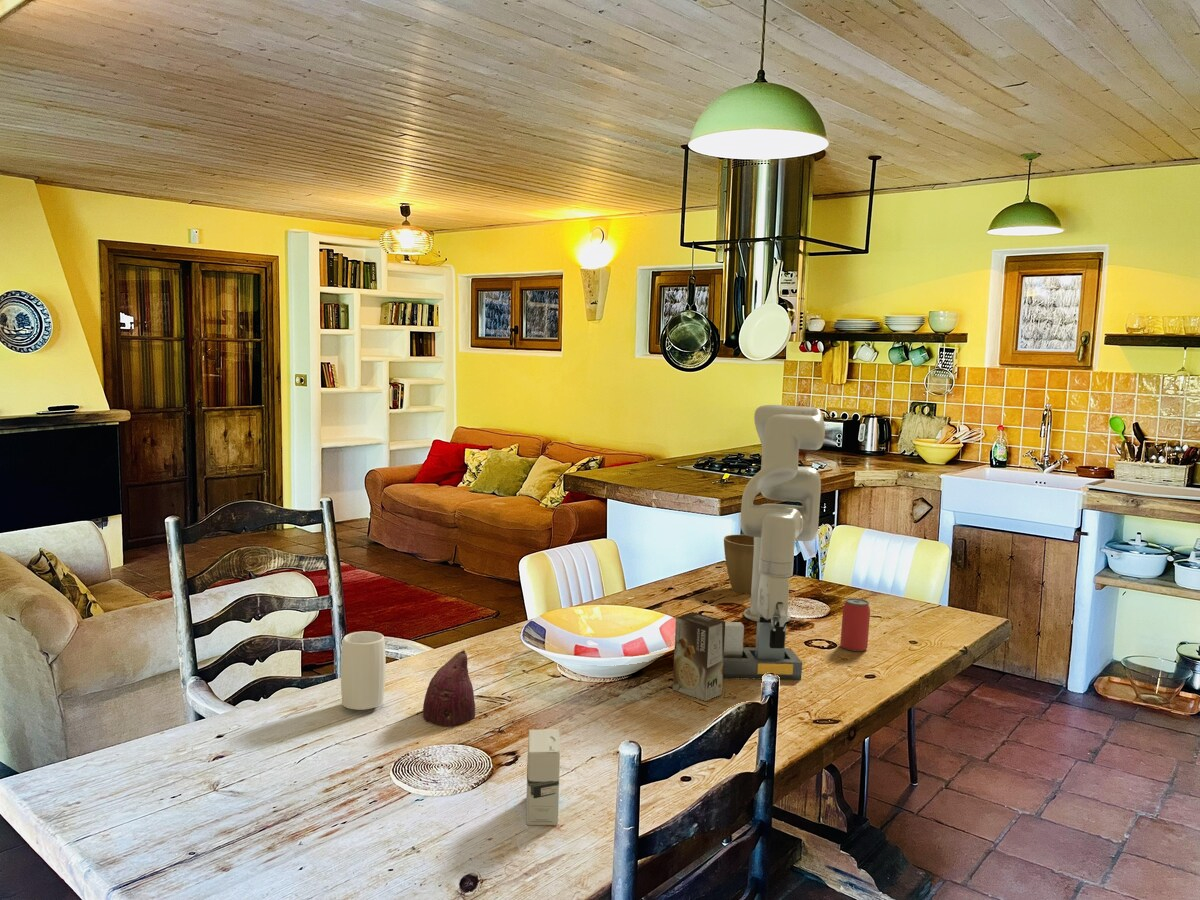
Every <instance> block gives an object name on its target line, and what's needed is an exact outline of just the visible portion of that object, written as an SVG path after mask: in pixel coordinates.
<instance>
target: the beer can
mask: <svg viewBox="0 0 1200 900" xmlns="http://www.w3.org/2000/svg"><path fill="white" fill-rule="evenodd" d="M870 621H871V608H870V605H869V601H868V600H867V599H866V600H865V599H862V598H858V597H857V598H855V597H854V598H853V597H850V598H846V599H845V602H844V604H843V607H842V618H841V630H840V631H841V632H840V644H839V645H840V646H841V647H842V648H843V649H844V650H848V651H850V650H851V652H864V651H866V650H867V649H868V646H869V645H868V644H869V631H870Z"/></svg>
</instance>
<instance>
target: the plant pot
mask: <svg viewBox="0 0 1200 900" xmlns="http://www.w3.org/2000/svg"><path fill="white" fill-rule="evenodd" d="M723 550H724V558H725V564H726V569H727V575H728V579H729V582H730V585H731V589H732V591H733V592H735V593H738V594H743V593H751V587H752V571H753V555H754V537H750V536H747V535H745V534H729V535H726V536H724V537H723Z"/></svg>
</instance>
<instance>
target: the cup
mask: <svg viewBox="0 0 1200 900" xmlns="http://www.w3.org/2000/svg"><path fill="white" fill-rule="evenodd" d="M340 655H341V656H340V657H341V658H340V689H341V691H340V693H341V704H342V705H343V707H344V708H347V709H351V710H358V711H359V710H369V709H374V708H376V707H379V706H381V705H383V703H384V699H385V698H384V697H385V688H386V687H385V686H386V685H385V684H386V665H387V664H386V642H385V636H384V634H382V633H380V632H376V631H369V630H368V631H363V630H362V631H353V632H350V633H348V634H346V635H344V637H343V638H342V643H341V653H340Z"/></svg>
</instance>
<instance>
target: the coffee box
mask: <svg viewBox="0 0 1200 900" xmlns="http://www.w3.org/2000/svg"><path fill="white" fill-rule="evenodd" d="M725 622H726V621H725V620H721V619H718V618H715V617H710V616H707V615H704V614H701V613H697V612H694V611H692V612H689V613H688V612H687V613H684V614H681V615H680V616H677V617H675V627H674V628H675V629H674V650H673V651H674V652H673V653H674V654H673V655H674V656H673V672H672V673H673V676H672V690H673V691H675V692H679V693H681V694H684V695H687V696H689V697H692V698H695V697H696V698H695V699H698V700H700V699H701V701H703V700H704V702H708V701H710V700H712V699H711V698H713V699H715V698H717V697H719V696H721V695H723V679H724V678H723V659H724V640H725ZM718 695H719V696H718ZM716 696H717V697H716ZM714 697H715V698H714ZM709 699H710V700H709ZM707 700H708V701H707Z"/></svg>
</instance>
